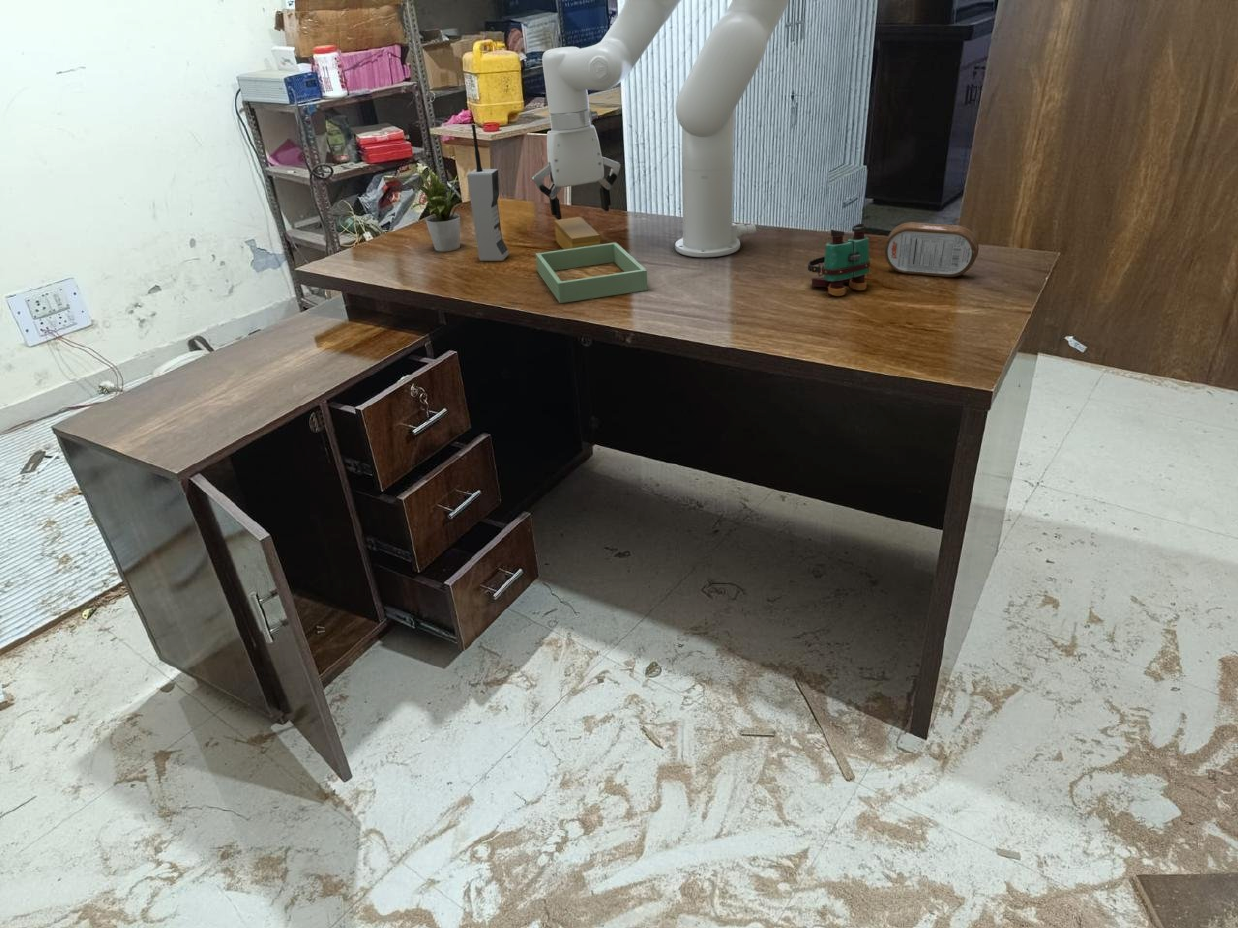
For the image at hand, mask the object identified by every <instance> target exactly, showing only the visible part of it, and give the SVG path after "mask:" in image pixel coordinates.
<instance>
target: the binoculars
mask: <svg viewBox="0 0 1238 928" xmlns="http://www.w3.org/2000/svg"><path fill="white" fill-rule="evenodd" d="M866 230H867V223H865V222H861V223H856V224H855V225H853V226H852V232H853V237H851V238H848V240H847V241H846V240H844V236H845V231H842V230H836V229H830V237H832V242H827V243H826V244H825V249H824V256H821V257H817V258H814V259H812V260H810V261H809V262H808V263H807V270H808V271H809V272H812V273H816V274H817V275H818V277H812V278H811V287H822V288H827V292H828V294H829V295H832V296H835V297H840V296H841V297H842V296H844V295H845V294H846V286H845V285H844V284H847V283H848V286H849V287H850V288H851V289H853V290H856V291H865V290H867V287H868V286H867V284H868V282H867V280H865V278H866V277H865V275H867V274H869V273H870V265H871V261H870V242H869V237H868V236H865V232H867V231H866ZM822 276H823V277H822Z"/></svg>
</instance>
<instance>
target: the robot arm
mask: <svg viewBox="0 0 1238 928" xmlns="http://www.w3.org/2000/svg"><path fill="white" fill-rule="evenodd" d="M681 1H682V0H625V3H624V5H623V6H622V8H621V10H620V12H619V13H618V15H617V17H616V18H615V20H614V21H613V23H612V24H611V26H610V27H609V29H608V30H607V32H606V33H605V35H604V36H603V37H602V39H601V40H600V41H599V42H597V43H596V44H593V45H590V46H586V47H581V48H580V47H577V46H563V47H555V48H549V49H547V50H545V51H544V52H543V54H542V57H541V61H542V63H541V64H542V71H543V78H544V85H545V93H546V101H547V107H548V114H549V122H550V130H548V131H547V133H546V156H547V157H546V158H547V165H545V166H544V167H543V168H541V169H540V170H539V171H538V172H536V173H535V174H534V175H533V176H532V177H531V179H532V182H533V183H534V184H535V185H536V187H537V189H538V190H539V191H540V192H541V193H543V194H544V195H545V196H546V197H548V198H549V206H550V213H551V216H554V218H555V220H561V219H562V211H561V204H560V198H558V194H559V192H560V191H561V189H562V188H569V187H574V186H581V185H586V184H587V185H588V184H592V183H598V184H599V185H600V187H599V198H600V207H601V209H602V210H603V211H605V212H609V211H610V206H611V205H612V202H611V193H610V190H611V189H612V186H613V185H614V183H615V182H616V180H617V179H618V175H619V172H620V169H621V163H620V162H618V161H615V160H613V159H610V158H607V157H604V156H602V150H601V145H600V140H599V137H598V133H597V130H596V127H595V126H594V125H593V121H594V120H596V119H598V117H599V114H598V111H597V110H591V108H590V101H589V93H588V91H608V90H611V89H613V88H615V87H616V86H617V85H619V84H620V83H621V82H622V81H624V80H625V79H626V78H627V76H629V74H630V73H631V72H632V70H633V69H634V67H635V65H636V64H637V63H638V62H639V60H640V58H641V57H642V56H643V54H644V53H645V51H646V50H647V48H648V47H649V46H650V44H651V43H652V41H653V40H654V38H655V37H656V35H657V34H658V32H660V30H661V29H662V27H663V26H664V25H665V24H666V23H667V22H668V20H669V19H670V18H671V16H672V15H673V13H674V11H675V10H676V9H677V7H678V6H679V4H680V3H681ZM789 2H790V0H732V1H731V3H730V4H729V6H728V7H727V9H726V11H725V12H724V14H723V15H722V16H721V17H720V18H719V19H718V20H717V22H716V23H715V24H714V26H713V27H712V29H711V31H709V32H710V33H709V34H708V36H707V38H706V40H705V42H704V44H703V46H702V48H701V50H700V52H699V54H698V56H697V57H696V59H695V62H694V63H693V65H692V67H691V69H690V71H689V73H688V75H687V76H686V79H685V80H684V83H683V84H682V86H681V88H680V90H679V92H678V94H677V97H676V101H675V115H676V116H675V117H676V119H677V121H678V124H679V126H680V127H681V193H682V194H681V195H682V197H681V198H682V238H679V239H678V240H677V241H676V242H675V244H674V249H675V251H676V252H677V253H678V254H680V255H682V256H687V257H693V258H716V257H723V256H728V255H731V254H733V253H736V252H738V251H739V250H740V248H741V241H740V238H741V237H742V236H751V235H756V234H757V227H756V225H755V224H754V223H752V224H745V223H735V222H733V211H734V210H733V209H734V208H733V207H734V205H733V201H734V156H735V155H734V153H735V152H734V151H735V150H734V149H735V148H734V147H735V120H736V107H737V105H738V104H739V102H740V100H741V98H742V97H743V95H744V93H745V91H746V90H747V88H748V86H749V85H750V83H751V81H752V80H753V77H754V75H755V74H756V72H757V70H758V68H759V66H760V64H761V63H762V61H763V58H764V57H765V54H766V50H767V47H768V44H769V41H770V38H771V37H772V35H773V33H774V31H775V29H776V28H777V26H778V23H779V21H780V20H781V18H782V16H783V14H784V13H785V10H786V8H787V6H788V4H789ZM604 166H607V167H610V172H609V174H608V175H607V177H606V178H604V177H605V167H604ZM546 177H549V182H551V184H550V186H549V188H548V187H547V186H546V185H545V184H544V182H543V180H544V179H545V178H546Z"/></svg>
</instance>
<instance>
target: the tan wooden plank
mask: <svg viewBox="0 0 1238 928" xmlns="http://www.w3.org/2000/svg"><path fill="white" fill-rule="evenodd" d="M553 222H554V223H553V224H554V231H555V233H554V234H555V242H556V244H558V245H559V246H560V247H561V249H562V250H565V249H572V248H579V247H586V246H594V245H601V234H600V233H599V232H597V231H596V230H595V229H594V227H592V226H591V224H589V223H588V222H587V221H585V219H584V218H582V216H574V217H567V218H561V220H557V219H554V221H553Z"/></svg>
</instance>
